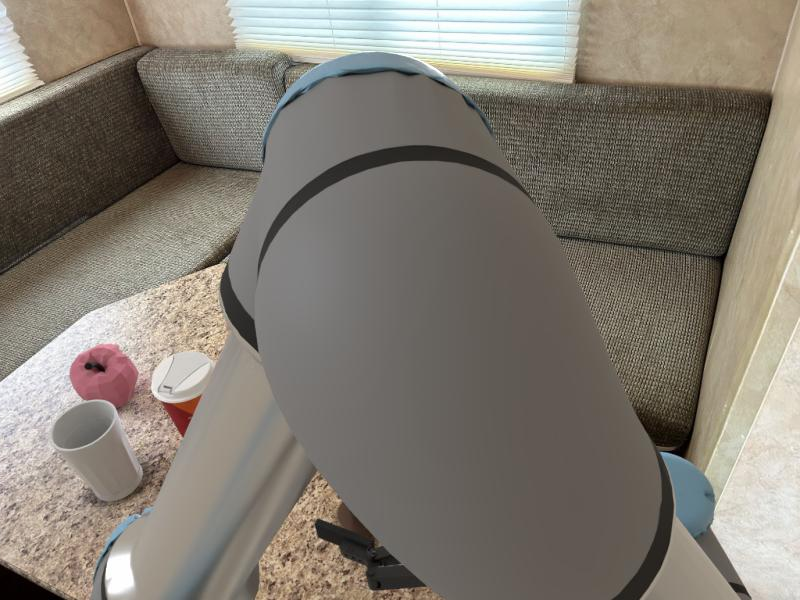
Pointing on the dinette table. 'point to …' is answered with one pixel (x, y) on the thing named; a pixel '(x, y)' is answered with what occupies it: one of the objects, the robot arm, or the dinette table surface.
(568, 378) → the robot arm
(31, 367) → the dinette table surface
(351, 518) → the wooden stamp handle
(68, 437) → the cup
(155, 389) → the coffee cup
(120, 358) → the apple
